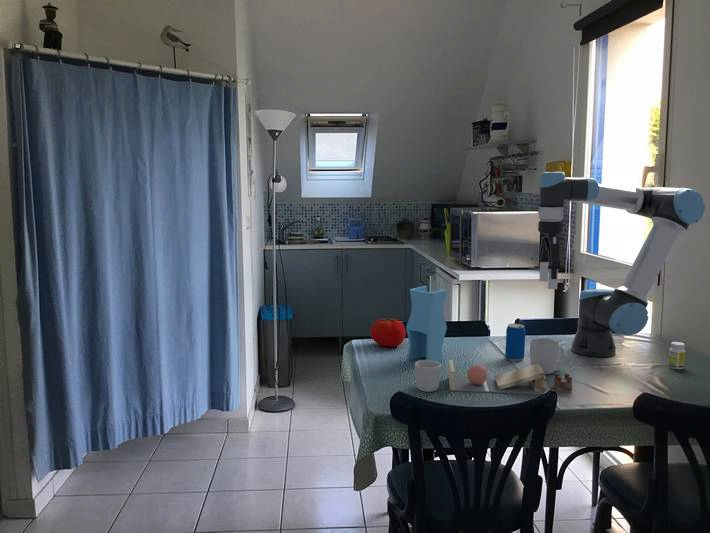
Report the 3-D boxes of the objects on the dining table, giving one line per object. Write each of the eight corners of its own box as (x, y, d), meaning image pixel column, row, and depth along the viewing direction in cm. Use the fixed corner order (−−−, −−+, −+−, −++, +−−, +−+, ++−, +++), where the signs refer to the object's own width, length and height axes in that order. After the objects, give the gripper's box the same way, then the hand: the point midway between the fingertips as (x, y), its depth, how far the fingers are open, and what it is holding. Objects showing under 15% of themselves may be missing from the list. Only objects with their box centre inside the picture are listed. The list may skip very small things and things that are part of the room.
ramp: (539, 383, 199) (540, 363, 198) (545, 393, 190) (546, 372, 189) (494, 381, 200) (495, 361, 199) (497, 391, 191) (498, 370, 190)
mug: (541, 377, 205) (542, 346, 203) (523, 369, 213) (524, 339, 211) (572, 372, 210) (573, 342, 208) (553, 364, 218) (555, 336, 216)
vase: (445, 360, 221) (447, 289, 218) (428, 366, 214) (430, 293, 211) (422, 354, 228) (424, 285, 224) (405, 360, 221) (407, 289, 217)
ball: (483, 382, 199) (488, 364, 198) (485, 389, 193) (490, 370, 192) (464, 378, 199) (468, 360, 198) (466, 385, 193) (470, 366, 192)
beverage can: (524, 362, 220) (526, 328, 218) (505, 361, 222) (506, 327, 220) (523, 356, 227) (525, 323, 225) (504, 355, 228) (506, 322, 226)
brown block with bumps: (568, 386, 196) (569, 372, 195) (572, 391, 191) (573, 377, 190) (553, 386, 196) (554, 372, 195) (556, 391, 192) (557, 376, 191)
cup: (410, 382, 199) (410, 357, 197) (435, 381, 199) (436, 356, 198) (416, 394, 188) (417, 368, 187) (443, 393, 189) (444, 367, 188)
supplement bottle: (682, 366, 217) (684, 342, 216) (684, 370, 213) (687, 345, 212) (667, 364, 219) (669, 340, 218) (669, 368, 214) (671, 344, 213)
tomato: (411, 344, 241) (411, 317, 239) (395, 352, 231) (396, 323, 229) (380, 339, 248) (381, 312, 246) (364, 346, 238) (364, 319, 236)
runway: (545, 381, 200) (546, 363, 199) (553, 395, 188) (554, 375, 187) (448, 378, 203) (448, 359, 202) (450, 390, 191) (450, 371, 190)
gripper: (531, 217, 219) (529, 278, 222) (546, 223, 194) (544, 292, 198) (553, 217, 218) (551, 278, 222) (572, 223, 194) (569, 292, 197)
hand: (547, 285), depth 210 cm, fingers open, 13 cm apart
